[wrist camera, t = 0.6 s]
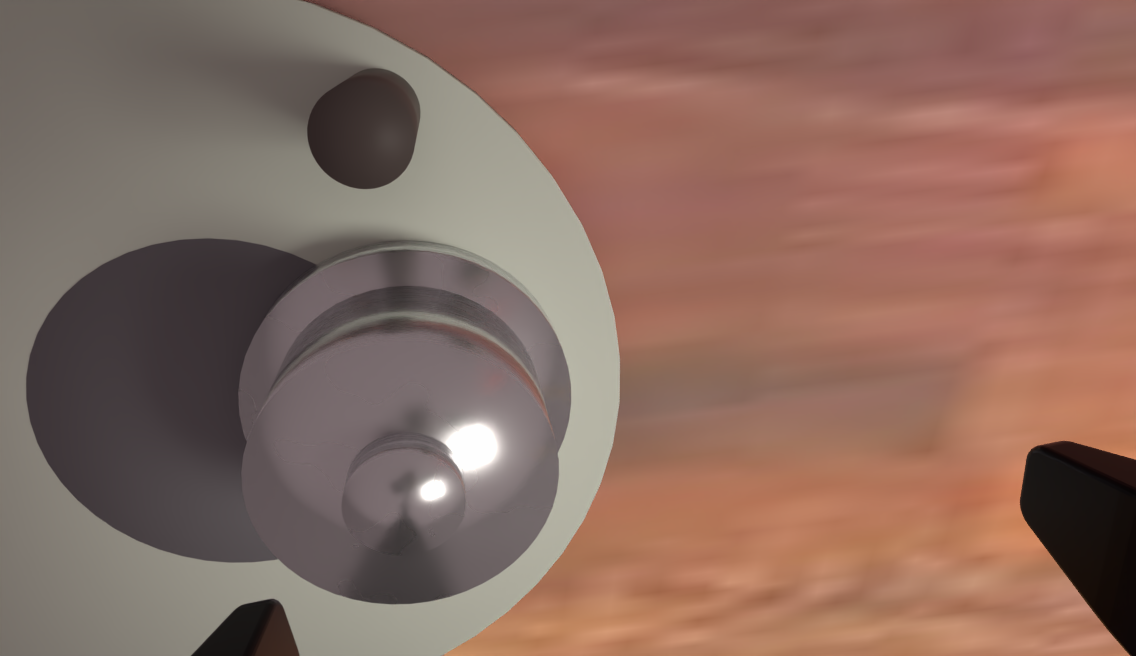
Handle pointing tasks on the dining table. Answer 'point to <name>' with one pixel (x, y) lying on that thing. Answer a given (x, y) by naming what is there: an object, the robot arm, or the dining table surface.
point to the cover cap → (402, 422)
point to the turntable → (231, 303)
